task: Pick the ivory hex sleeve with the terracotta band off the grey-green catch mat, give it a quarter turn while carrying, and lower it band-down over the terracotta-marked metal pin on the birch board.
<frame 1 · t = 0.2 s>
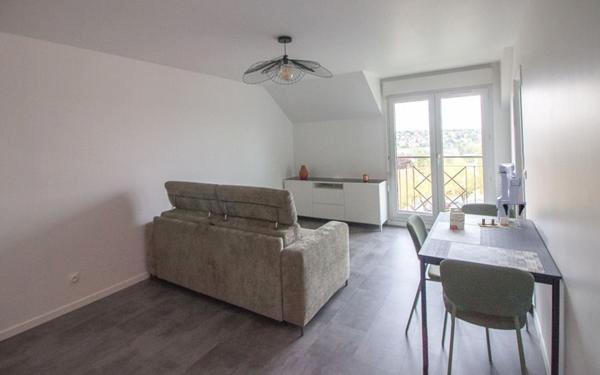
hand: (513, 215, 224), 10 cm above the table, fingers open, 7 cm apart
sleeve: (504, 224, 236), resting on catch mat
pin board: (488, 225, 237), on the table
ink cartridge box: (457, 228, 232), on the table
catch mat: (504, 225, 236), on the table
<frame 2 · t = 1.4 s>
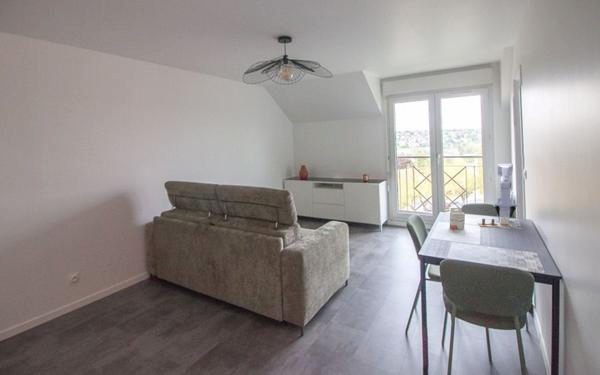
hand: (504, 216, 235), 6 cm above the table, fingers open, 7 cm apart
nothing on the table moved.
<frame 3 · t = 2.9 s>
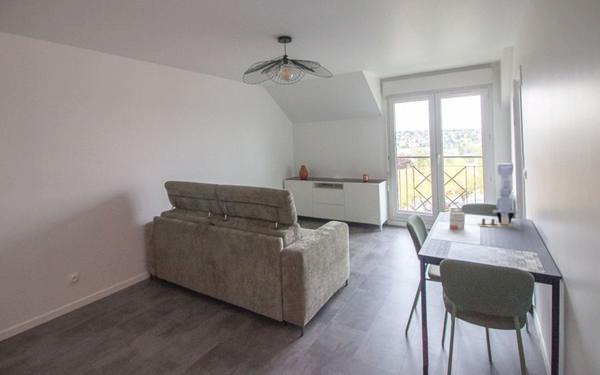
hand: (504, 223, 236), 2 cm above the table, fingers closed on sleeve, 5 cm apart
sleeve: (504, 224, 236), resting on catch mat, touching gripper
everything else where it was.
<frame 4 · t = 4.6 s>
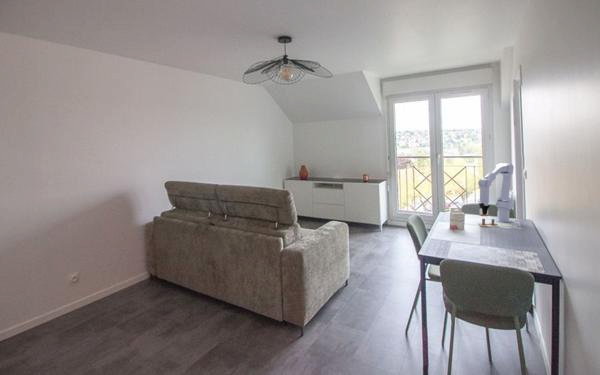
hand: (483, 213, 236), 9 cm above the table, fingers closed on sleeve, 5 cm apart
sleeve: (483, 215, 237), point 7 cm above the table, touching gripper
everything else where it was.
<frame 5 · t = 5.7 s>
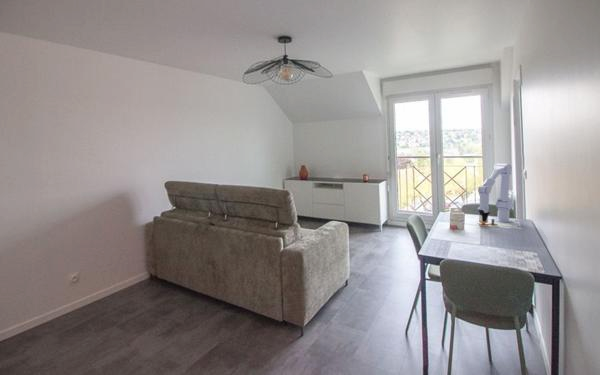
hand: (483, 220, 237), 4 cm above the table, fingers closed on sleeve, 5 cm apart
sleeve: (483, 222, 237), point 2 cm above the table, touching gripper
everything else where it was.
when the fingers open (4 cm above the table, at t = 6.7 s): sleeve drops 1 cm, resting on pin board.
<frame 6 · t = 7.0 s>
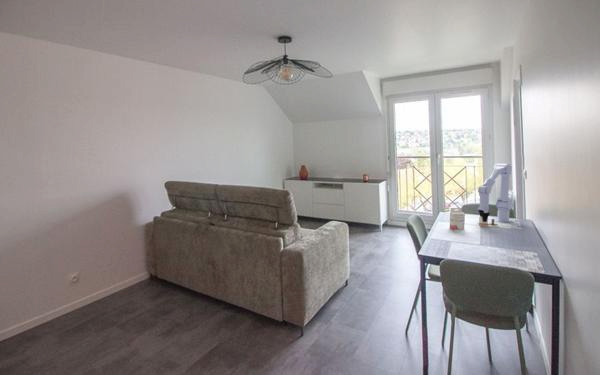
hand: (483, 220, 237), 4 cm above the table, fingers open, 7 cm apart
sleeve: (483, 224, 237), point 1 cm above the table, touching pin board
everything else where it was.
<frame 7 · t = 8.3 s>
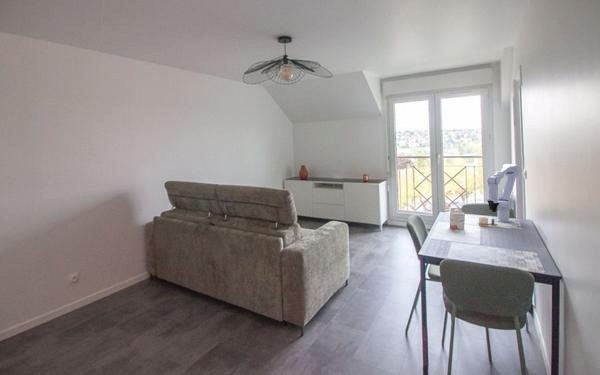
hand: (492, 210, 240), 10 cm above the table, fingers open, 7 cm apart
nothing on the table moved.
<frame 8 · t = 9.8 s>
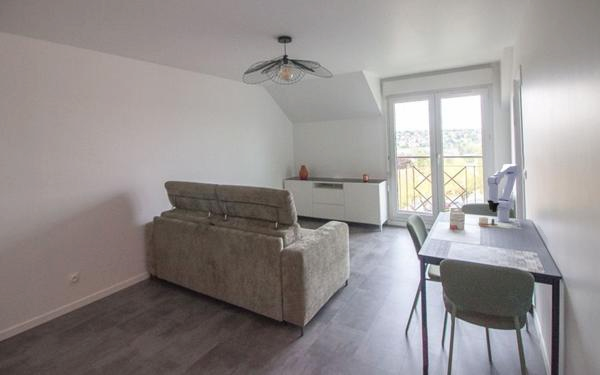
hand: (492, 210, 240), 10 cm above the table, fingers open, 7 cm apart
nothing on the table moved.
at the end: sleeve 0.0 cm from the target spot on the pin board, point 1.1 cm above the pin board's base; sleeve tilted 0°; the gripper is holding nothing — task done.
